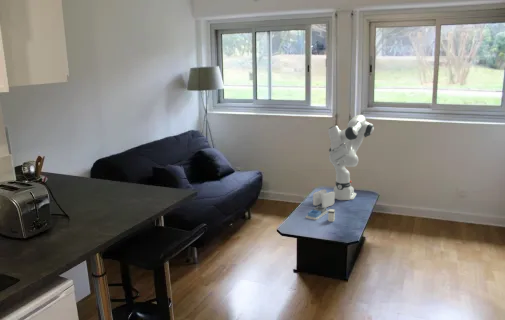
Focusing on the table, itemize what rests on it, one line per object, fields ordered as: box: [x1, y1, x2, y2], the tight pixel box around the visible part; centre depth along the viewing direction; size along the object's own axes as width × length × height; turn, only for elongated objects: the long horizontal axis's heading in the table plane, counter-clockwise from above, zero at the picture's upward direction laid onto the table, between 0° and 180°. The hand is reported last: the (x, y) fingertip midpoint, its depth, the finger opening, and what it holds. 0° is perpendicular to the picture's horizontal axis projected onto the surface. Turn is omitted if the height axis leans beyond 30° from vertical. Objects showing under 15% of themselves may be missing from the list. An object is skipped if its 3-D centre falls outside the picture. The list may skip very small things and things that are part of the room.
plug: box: [327, 208, 336, 222], centre depth 331 cm, size 4×4×8 cm
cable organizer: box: [312, 189, 336, 209], centre depth 361 cm, size 15×11×12 cm
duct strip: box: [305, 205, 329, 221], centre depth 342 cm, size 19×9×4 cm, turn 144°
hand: (341, 164), depth 337 cm, fingers open, 8 cm apart
